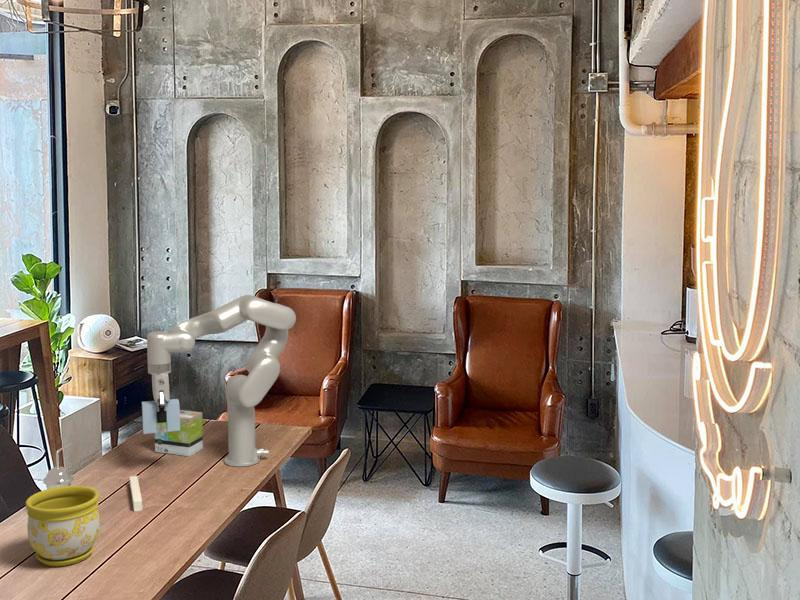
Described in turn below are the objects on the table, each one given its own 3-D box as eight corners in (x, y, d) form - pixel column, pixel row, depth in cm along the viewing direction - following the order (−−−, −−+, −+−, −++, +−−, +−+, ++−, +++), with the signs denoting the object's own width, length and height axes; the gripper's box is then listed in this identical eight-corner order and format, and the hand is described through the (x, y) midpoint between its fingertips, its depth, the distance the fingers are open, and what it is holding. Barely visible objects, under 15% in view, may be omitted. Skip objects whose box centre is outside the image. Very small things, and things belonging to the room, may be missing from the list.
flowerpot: (79, 536, 232) (76, 480, 230) (114, 554, 221) (112, 495, 218) (15, 557, 218) (12, 498, 216) (50, 578, 207) (47, 515, 205)
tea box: (154, 453, 306) (152, 414, 304) (169, 445, 316) (168, 407, 314) (189, 457, 302) (188, 417, 300) (204, 449, 311) (203, 411, 309)
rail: (137, 484, 273) (137, 475, 273) (142, 510, 251) (142, 501, 250) (129, 485, 272) (129, 476, 272) (134, 511, 250) (133, 502, 250)
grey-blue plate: (178, 426, 286) (178, 398, 284) (180, 430, 281) (179, 401, 280) (142, 430, 281) (141, 401, 280) (143, 433, 277) (142, 405, 276)
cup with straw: (40, 510, 250) (37, 446, 248) (71, 503, 256) (68, 441, 254) (49, 518, 244) (46, 453, 241) (80, 511, 250) (77, 447, 247)
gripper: (173, 372, 272) (175, 426, 274) (168, 362, 288) (170, 413, 290) (149, 374, 269) (151, 428, 272) (146, 363, 285) (148, 415, 287)
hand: (161, 419), depth 281 cm, fingers closed on grey-blue plate, 4 cm apart
